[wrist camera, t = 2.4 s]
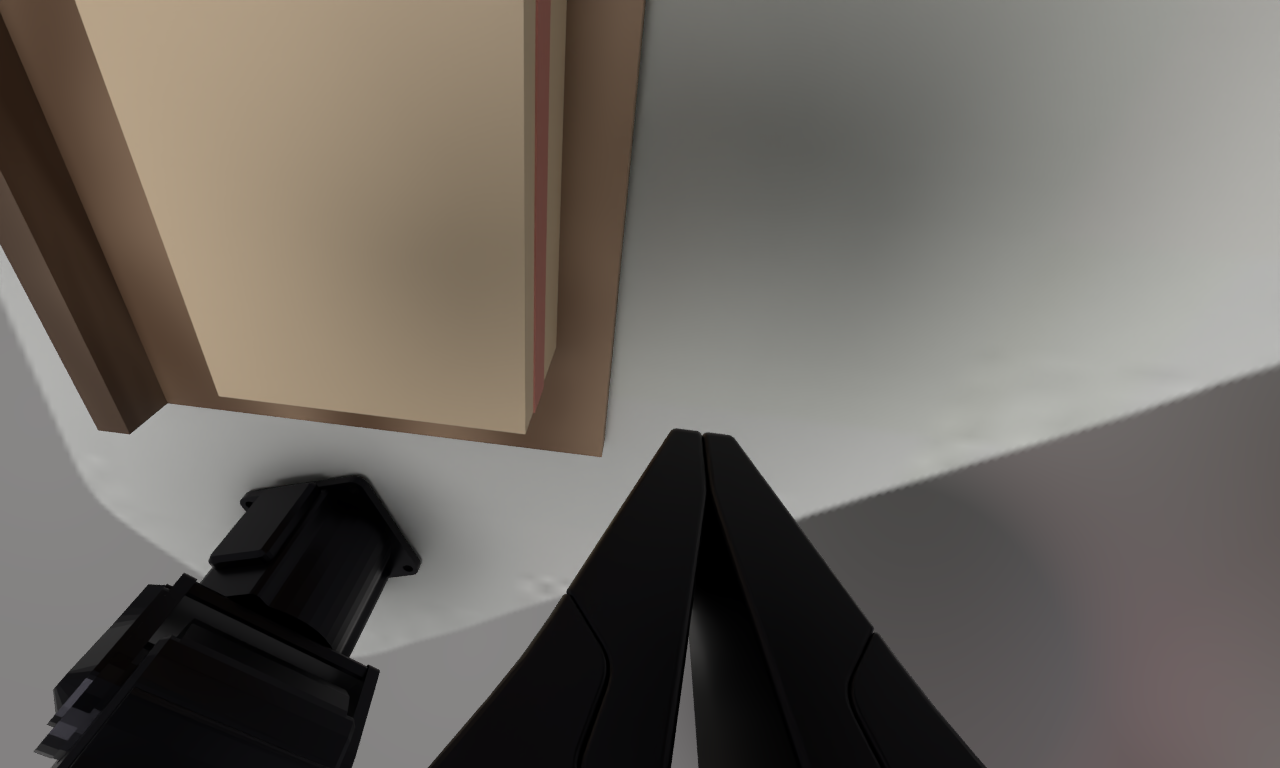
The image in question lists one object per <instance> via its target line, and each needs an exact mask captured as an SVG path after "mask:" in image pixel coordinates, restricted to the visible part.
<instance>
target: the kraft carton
mask: <svg viewBox="0 0 1280 768" xmlns="http://www.w3.org/2000/svg"><path fill="white" fill-rule="evenodd" d="M75 2H76V5H77V8H78V11H79V13H80V16H81V19H82V22H83V24H84V27H85V30H86V33H87V35H88V38H89V41H90V44H91V46H92V49H93V52H94V55H95V57H96V60H97V63H98V66H99V68H100V71H101V74H102V76H103V79H104V82H105V85H106V87H107V90H108V93H109V96H110V98H111V101H112V104H113V107H114V109H115V112H116V115H117V118H118V120H119V123H120V126H121V129H122V131H123V134H124V137H125V140H126V142H127V145H128V148H129V151H130V153H131V156H132V159H133V162H134V164H135V167H136V170H137V173H138V175H139V178H140V181H141V184H142V186H143V189H144V192H145V195H146V197H147V200H148V203H149V206H150V208H151V211H152V214H153V217H154V219H155V222H156V225H157V228H158V230H159V233H160V236H161V239H162V241H163V244H164V247H165V250H166V252H167V255H168V258H169V261H170V263H171V266H172V269H173V272H174V274H175V277H176V280H177V283H178V285H179V288H180V291H181V294H182V296H183V299H184V302H185V305H186V307H187V310H188V313H189V316H190V318H191V321H192V324H193V327H194V329H195V332H196V335H197V338H198V340H199V343H200V346H201V349H202V351H203V354H204V357H205V360H206V362H207V365H208V368H209V370H210V373H211V376H212V379H213V381H214V384H215V387H216V390H217V392H218V395H219V396H221V397H229V398H237V399H245V400H253V401H261V402H269V403H277V404H285V405H293V406H301V407H309V408H317V409H325V410H333V411H341V412H349V413H357V414H365V415H374V416H382V417H390V418H398V419H406V420H414V421H422V422H430V423H438V424H446V425H454V426H462V427H470V428H478V429H486V430H494V431H502V432H510V433H518V434H526V431H527V428H528V425H529V422H530V420H531V417H532V414H533V413H535V411H536V409H537V406H538V403H539V400H540V397H541V394H542V391H543V388H544V380H545V377H546V374H547V371H548V369H549V366H550V363H551V360H552V357H553V354H554V352H555V349H556V336H557V303H558V271H559V238H560V206H561V173H562V141H563V109H564V76H565V44H566V11H567V0H75Z"/></svg>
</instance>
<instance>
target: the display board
mask: <svg viewBox="0 0 1280 768" xmlns="http://www.w3.org/2000/svg"><path fill="white" fill-rule="evenodd" d="M645 4H646V0H567V11H566V44H565V76H564V109H563V141H562V173H561V206H560V238H559V271H558V303H557V336H556V349H555V352H554V354H553V357H552V360H551V363H550V366H549V369H548V371H547V374H546V377H545V380H544V388H543V391H542V394H541V397H540V400H539V403H538V406H537V409H536V411H535V413H533V414H532V417H531V420H530V422H529V425H528V428H527V431H526V434H518V433H510V432H502V431H494V430H486V429H478V428H470V427H462V426H454V425H446V424H438V423H430V422H422V421H414V420H406V419H398V418H390V417H382V416H374V415H365V414H357V413H349V412H341V411H333V410H325V409H317V408H309V407H301V406H293V405H285V404H277V403H269V402H261V401H253V400H245V399H237V398H229V397H221V396H219V395H218V392H217V390H216V387H215V384H214V381H213V379H212V376H211V373H210V370H209V368H208V365H207V362H206V360H205V357H204V354H203V351H202V349H201V346H200V343H199V340H198V338H197V335H196V332H195V329H194V327H193V324H192V321H191V318H190V316H189V313H188V310H187V307H186V305H185V302H184V299H183V296H182V294H181V291H180V288H179V285H178V283H177V280H176V277H175V274H174V272H173V269H172V266H171V263H170V261H169V258H168V255H167V252H166V250H165V247H164V244H163V241H162V239H161V236H160V233H159V230H158V228H157V225H156V222H155V219H154V217H153V214H152V211H151V208H150V206H149V203H148V200H147V197H146V195H145V192H144V189H143V186H142V184H141V181H140V178H139V175H138V173H137V170H136V167H135V164H134V162H133V159H132V156H131V153H130V151H129V148H128V145H127V142H126V140H125V137H124V134H123V131H122V129H121V126H120V123H119V120H118V118H117V115H116V112H115V109H114V107H113V104H112V101H111V98H110V96H109V93H108V90H107V87H106V85H105V82H104V79H103V76H102V74H101V71H100V68H99V66H98V63H97V60H96V57H95V55H94V52H93V49H92V46H91V44H90V41H89V38H88V35H87V33H86V30H85V27H84V24H83V22H82V19H81V16H80V13H79V11H78V8H77V5H76V2H75V0H0V245H1V246H2V248H3V250H4V252H5V254H6V256H7V258H8V260H9V262H10V264H11V265H12V267H13V269H14V271H15V273H16V275H17V277H18V279H19V281H20V283H21V284H22V286H23V288H24V290H25V292H26V294H27V296H28V298H29V300H30V302H31V303H32V305H33V307H34V309H35V311H36V313H37V315H38V317H39V319H40V321H41V322H42V324H43V326H44V328H45V330H46V332H47V334H48V336H49V338H50V340H51V341H52V343H53V345H54V347H55V349H56V351H57V353H58V355H59V357H60V358H61V360H62V362H63V364H64V366H65V368H66V370H67V372H68V374H69V376H70V377H71V379H72V381H73V383H74V385H75V387H76V389H77V391H78V393H79V395H80V396H81V398H82V400H83V402H84V404H85V406H86V408H87V410H88V412H89V414H90V415H91V417H92V419H93V421H94V423H95V425H96V427H97V429H98V430H100V431H108V432H116V433H124V434H131V433H132V432H133V431H134V430H136V429H137V428H138V427H139V426H140V425H142V424H143V423H144V422H145V421H147V420H148V419H149V418H150V417H151V416H153V415H154V414H155V413H156V412H157V411H159V410H160V409H161V408H162V407H163V406H165V405H166V404H167V403H170V404H178V405H186V406H194V407H202V408H211V409H219V410H227V411H235V412H243V413H251V414H259V415H267V416H275V417H283V418H291V419H299V420H307V421H315V422H323V423H331V424H339V425H347V426H355V427H363V428H371V429H379V430H387V431H396V432H404V433H412V434H420V435H428V436H436V437H444V438H452V439H460V440H468V441H476V442H484V443H492V444H500V445H508V446H516V447H524V448H532V449H540V450H548V451H556V452H564V453H572V454H581V455H589V456H597V457H602V451H603V446H604V439H605V428H606V418H607V407H608V397H609V386H610V375H611V365H612V354H613V343H614V333H615V322H616V312H617V301H618V290H619V280H620V269H621V259H622V248H623V237H624V227H625V216H626V205H627V195H628V184H629V174H630V163H631V152H632V142H633V131H634V120H635V110H636V99H637V89H638V78H639V67H640V57H641V46H642V36H643V25H644V14H645Z"/></svg>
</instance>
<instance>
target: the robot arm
mask: <svg viewBox="0 0 1280 768" xmlns="http://www.w3.org/2000/svg"><path fill="white" fill-rule="evenodd" d="M240 504H241V506H242V507H243V508H244V510H245V511H246V513H245V514H244V515H243V516H242V518H241V519H240V520H239V521H238V522H237V524H236V525H235V526H234V527H233V528H232V530H231V531H230V532H229V533H228V535H227V536H226V537H225V538H224V539H223V541H222V542H221V543H220V544H219V546H218V547H217V548H216V549H215V550H214V552H213V553H212V554H211V556H210V558H209V564H210V565H211V566H212V569H211V570H210V571H209V572H208V574H207V575H206V576H205V577H204V579H203V580H202V581H201V582H200V583H198V582H196V580H197V579H196V578H194V577H192V576H190V575H188V574H186V573H184V574H183V575H182V576H181V577H180V578H179V580H178V581H177V582H176V583H175V584H174V586H170V585H168V584H167V585H147V587H146V588H145V589H144V590H143V591H142V592H141V593H140V594H139V596H138V597H137V598H136V599H135V600H134V601H133V602H132V603H131V605H130V606H129V607H128V608H127V609H126V610H125V611H124V613H123V614H122V615H121V616H120V617H119V618H118V619H117V620H116V621H115V623H114V624H113V625H112V626H111V627H110V628H109V629H108V630H107V631H106V633H105V634H104V635H103V636H102V637H101V638H100V639H99V640H98V641H97V642H96V643H95V644H94V645H93V646H92V647H91V649H90V650H89V651H88V652H87V653H86V654H85V655H84V656H83V657H82V658H81V659H80V660H79V661H78V662H77V664H76V665H75V666H74V667H73V668H72V669H71V670H70V671H69V672H68V673H67V674H66V676H65V677H64V678H63V679H62V680H61V681H60V682H59V683H58V685H57V686H56V687H55V688H54V690H53V692H54V702H55V712H56V714H55V715H54V717H53V718H52V719H51V720H50V721H49V723H48V724H47V725H49V726H52V727H54V728H53V729H52V730H51V731H50V733H49V734H48V735H47V737H46V738H45V739H44V740H43V741H42V742H41V744H40V745H39V746H38V747H37V749H35V751H34V752H35V753H38V754H40V755H43V756H46V757H49V758H54V759H57V761H56V762H55V764H54V765H53V766H52V768H352V765H353V762H354V759H355V756H356V753H357V750H358V746H359V743H360V739H361V736H362V732H363V729H364V725H365V722H366V718H367V715H368V711H369V708H370V704H371V701H372V697H373V694H374V690H375V686H376V683H377V680H378V676H379V673H380V670H379V669H377V668H375V667H373V666H370V665H367V666H365V665H363V664H361V663H359V662H357V661H355V660H353V659H351V658H349V657H350V655H351V653H352V651H353V649H354V647H355V645H356V643H357V641H358V639H359V637H360V635H361V633H362V631H363V629H364V627H365V625H366V623H367V621H368V619H369V617H370V615H371V613H372V611H373V609H374V607H375V604H376V602H377V600H378V598H379V596H380V594H381V592H382V590H383V588H384V586H385V584H386V582H387V580H388V578H390V577H399V576H407V575H414V574H416V573H417V572H418V570H419V568H420V565H421V562H420V560H419V559H418V557H417V556H416V554H415V553H414V551H413V550H412V548H411V547H410V545H409V544H408V542H407V541H406V539H405V538H404V536H403V535H402V533H401V532H400V530H399V529H398V528H397V526H396V525H395V523H394V522H393V520H392V519H391V517H390V516H389V514H388V513H387V511H386V510H385V508H384V507H383V505H382V504H381V502H380V501H379V499H378V498H377V496H376V495H375V493H374V492H373V490H372V489H371V487H370V486H369V484H368V483H367V482H366V481H365V480H364V479H363V478H361V477H358V476H350V477H343V478H336V479H330V480H323V481H317V482H310V483H303V484H296V485H289V486H283V487H276V488H270V489H264V490H258V491H251V492H248V493H246V494H245V496H244V497H243V498H242V499H241V501H240ZM873 630H874V627H873V626H872V624H871V623H870V621H869V620H868V619H867V617H866V616H865V614H864V613H863V612H862V611H861V609H860V608H859V607H858V605H857V604H856V602H855V601H854V600H853V598H852V597H851V596H850V594H849V593H848V592H847V590H846V589H845V587H844V586H843V585H842V583H841V582H840V581H839V579H838V578H837V577H836V575H835V574H834V573H833V571H832V570H831V568H830V567H829V566H828V564H827V563H826V562H825V560H824V559H823V558H822V556H821V555H820V554H819V552H818V551H817V549H816V548H815V547H814V546H813V544H812V543H811V541H810V540H809V539H808V537H807V536H806V535H805V533H804V532H803V531H802V529H801V528H800V527H799V525H798V524H797V522H796V521H795V520H794V518H793V517H792V516H791V514H790V513H789V512H788V510H787V509H786V508H785V506H784V505H783V503H782V502H781V501H780V499H779V498H778V497H777V495H776V494H775V493H774V491H773V490H772V489H771V487H770V486H769V484H768V483H767V482H766V480H765V479H764V478H763V476H762V475H761V474H760V472H759V471H758V470H757V468H756V467H755V466H754V464H753V463H752V461H751V460H750V459H749V457H748V456H747V455H746V453H745V452H744V451H743V449H742V448H741V447H740V445H739V444H738V442H737V441H736V440H735V439H734V438H733V437H732V436H730V435H725V434H717V433H709V432H706V433H704V434H703V435H701V433H700V432H698V431H693V430H685V429H677V428H676V429H673V430H671V431H670V433H669V434H668V436H667V437H666V439H665V440H664V442H663V444H662V445H661V447H660V448H659V450H658V451H657V453H656V454H655V456H654V457H653V459H652V460H651V462H650V463H649V465H648V467H647V468H646V470H645V471H644V473H643V474H642V476H641V477H640V479H639V480H638V482H637V483H636V485H635V486H634V488H633V490H632V491H631V493H630V494H629V496H628V497H627V499H626V500H625V502H624V503H623V505H622V506H621V508H620V509H619V511H618V513H617V514H616V516H615V517H614V519H613V520H612V522H611V523H610V525H609V526H608V528H607V529H606V531H605V533H604V534H603V536H602V537H601V539H600V540H599V542H598V543H597V545H596V546H595V548H594V549H593V551H592V552H591V554H590V556H589V557H588V559H587V560H586V562H585V563H584V565H583V566H582V568H581V569H580V571H579V572H578V574H577V575H576V577H575V579H574V580H573V582H572V583H571V585H570V586H569V588H568V589H567V594H565V595H563V596H562V598H561V599H560V601H559V602H558V604H557V605H556V607H555V609H554V610H553V612H552V613H551V615H550V616H549V618H548V619H547V621H546V622H545V623H544V625H543V626H542V628H541V629H540V631H539V632H538V633H537V635H536V636H535V638H534V639H533V641H532V642H531V643H530V645H529V646H528V648H527V649H526V650H525V652H524V653H523V655H522V656H521V657H520V659H519V660H518V661H517V662H516V664H515V665H514V666H513V667H512V668H511V670H510V671H509V672H508V674H507V675H506V676H505V677H504V678H503V680H502V681H501V682H500V684H499V685H498V686H497V687H496V688H495V690H494V691H493V692H492V693H491V695H490V696H489V697H488V698H487V700H486V701H485V702H484V703H483V704H482V705H481V706H480V708H479V709H478V710H477V711H476V712H475V713H474V715H473V716H472V717H471V718H470V719H469V720H468V722H467V723H466V724H465V725H464V726H463V727H462V729H461V730H460V731H459V732H458V733H457V734H456V736H455V737H454V738H453V739H452V740H451V742H450V743H449V744H448V745H447V746H446V747H445V748H444V750H443V751H442V752H441V753H440V754H439V755H438V757H437V758H436V759H435V760H434V761H433V762H432V764H431V765H430V766H429V767H428V768H671V763H672V755H673V748H674V741H675V733H676V726H677V717H678V711H679V703H680V696H681V689H682V682H683V674H684V667H685V660H686V652H687V645H688V637H689V641H690V656H691V670H692V684H693V698H694V711H695V726H696V740H697V753H698V767H699V768H987V767H986V766H985V765H984V764H983V763H982V762H981V761H980V759H979V758H978V757H977V756H976V755H975V754H974V753H973V751H972V750H971V749H970V748H969V747H968V745H967V744H966V743H965V742H964V741H963V740H962V738H961V737H960V736H959V735H958V734H957V733H956V731H955V730H954V729H953V728H952V727H951V725H950V724H949V723H948V722H947V721H946V720H945V718H944V717H943V716H942V715H941V713H940V712H939V711H938V710H937V709H936V708H935V706H934V705H933V704H932V703H931V701H930V700H929V699H928V698H927V696H926V695H925V694H924V692H923V691H922V690H921V688H920V687H919V686H918V685H917V683H916V682H915V681H914V679H913V678H912V677H911V676H910V675H909V673H908V672H907V671H906V669H905V668H904V667H903V665H902V664H901V663H900V662H899V660H898V659H897V657H896V656H895V655H894V653H893V652H892V651H891V649H890V648H889V647H888V645H887V644H886V643H885V641H884V640H883V638H882V637H881V636H880V634H878V633H876V632H875V633H873ZM872 633H873V634H872Z"/></svg>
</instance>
